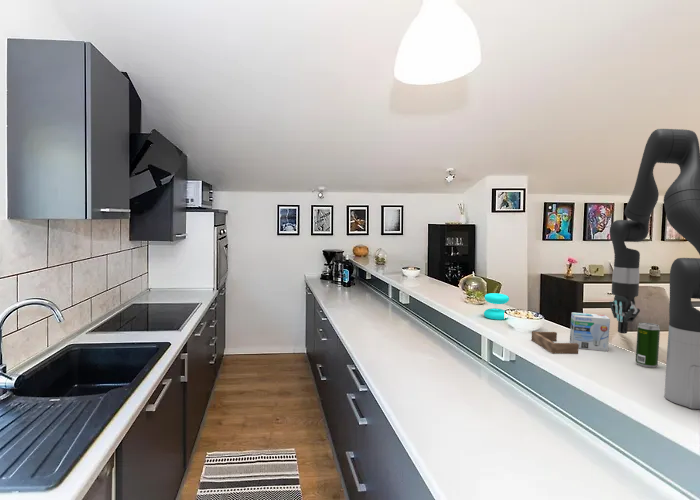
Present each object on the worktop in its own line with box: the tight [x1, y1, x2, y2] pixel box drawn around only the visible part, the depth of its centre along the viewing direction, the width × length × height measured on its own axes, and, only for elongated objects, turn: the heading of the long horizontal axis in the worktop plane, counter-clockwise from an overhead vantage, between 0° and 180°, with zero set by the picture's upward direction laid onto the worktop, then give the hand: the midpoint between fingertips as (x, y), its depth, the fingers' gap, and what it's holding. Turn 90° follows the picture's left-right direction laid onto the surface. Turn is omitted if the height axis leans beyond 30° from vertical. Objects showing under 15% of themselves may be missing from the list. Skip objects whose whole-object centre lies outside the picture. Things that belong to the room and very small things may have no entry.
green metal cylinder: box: [635, 322, 661, 369], centre depth 128 cm, size 5×5×12 cm
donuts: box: [483, 292, 510, 321], centre depth 189 cm, size 10×10×10 cm
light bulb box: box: [569, 312, 611, 352], centre depth 146 cm, size 11×7×11 cm, turn 73°
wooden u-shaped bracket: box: [530, 331, 580, 355], centre depth 146 cm, size 15×8×3 cm, turn 1°
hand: (622, 332), depth 147 cm, fingers closed
